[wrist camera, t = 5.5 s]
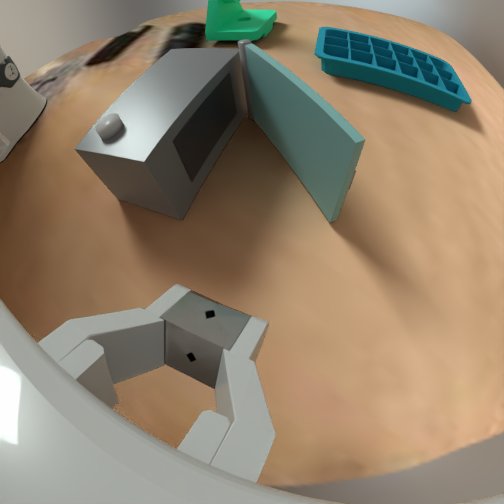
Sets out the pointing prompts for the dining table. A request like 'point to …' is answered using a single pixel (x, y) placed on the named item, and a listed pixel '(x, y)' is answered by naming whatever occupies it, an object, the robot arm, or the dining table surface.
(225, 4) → the camera mount
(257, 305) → the dining table surface
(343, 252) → the dining table surface
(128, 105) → the action camera
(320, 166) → the side door
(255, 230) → the dining table surface
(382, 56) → the ice cube tray
